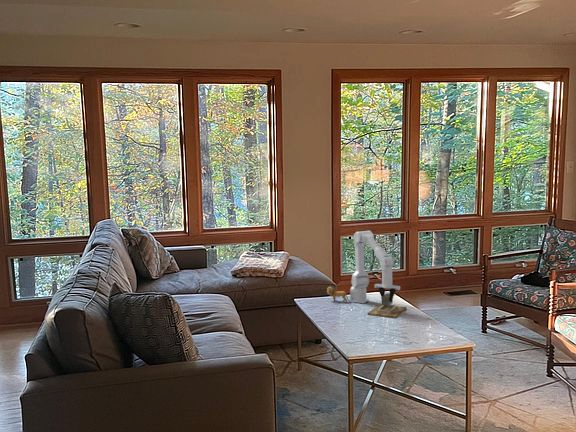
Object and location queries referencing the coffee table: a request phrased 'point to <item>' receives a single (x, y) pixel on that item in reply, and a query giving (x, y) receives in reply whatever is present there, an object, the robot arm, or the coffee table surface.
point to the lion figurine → (337, 294)
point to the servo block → (386, 299)
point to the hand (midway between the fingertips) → (387, 301)
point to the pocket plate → (387, 311)
